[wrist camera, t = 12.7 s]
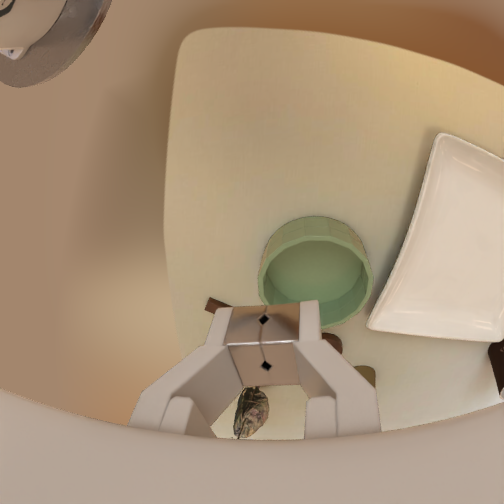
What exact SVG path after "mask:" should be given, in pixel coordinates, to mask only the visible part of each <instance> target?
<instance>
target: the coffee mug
mask: <svg viewBox="0 0 504 504" xmlns="http://www.w3.org/2000/svg"><path fill="white" fill-rule="evenodd" d="M488 355H489V358H490V361H491V365H492V368H493V372H494V375H495V379H496V383H497V387H498V391H499V395H500V398H501V399H504V339H503V340H502V341H500V342H492V344H491V345H490V347H489V349H488Z"/></svg>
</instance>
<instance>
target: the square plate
mask: <svg viewBox="0 0 504 504" xmlns="http://www.w3.org/2000/svg"><path fill="white" fill-rule="evenodd" d="M366 327H367V328H368V329H371V330H376V331H383V332H391V333H399V334H407V335H416V336H425V337H435V338H445V339H456V340H467V341H481V342H500V341H502V340H503V339H504V160H503V159H501V158H499V157H498V156H496V155H494V154H492V153H490V152H488V151H486V150H484V149H482V148H480V147H478V146H476V145H474V144H472V143H470V142H467V141H465V140H463V139H461V138H458V137H456V136H453V135H450V134H447V133H438V134H437V135H436V137H435V139H434V142H433V145H432V148H431V152H430V156H429V159H428V163H427V167H426V171H425V175H424V179H423V182H422V186H421V190H420V194H419V197H418V201H417V204H416V207H415V211H414V214H413V217H412V220H411V223H410V226H409V229H408V232H407V235H406V237H405V240H404V243H403V245H402V248H401V250H400V253H399V255H398V258H397V260H396V262H395V265H394V267H393V269H392V271H391V274H390V276H389V278H388V280H387V282H386V284H385V286H384V288H383V290H382V292H381V294H380V296H379V298H378V300H377V302H376V304H375V306H374V308H373V310H372V312H371V314H370V316H369V318H368V320H367V323H366Z"/></svg>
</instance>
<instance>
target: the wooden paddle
mask: <svg viewBox="0 0 504 504" xmlns="http://www.w3.org/2000/svg"><path fill="white" fill-rule="evenodd" d="M226 307H232V306H229V305H227V304H224V303H222V302H220V301H217V300H215V299H212V298H209V300H208V302H207V305H206V307H205V310H206V311H208V312H211V313H213V314H215V312H216V310H217V309H218V308H226ZM323 339H325V340H326V341H327V342H328V343H329V344H330V345H331V346H332V347H334V348H335V349H336V350H337V351H338V352H339V353H340V354H342V342H341V340H340V339H339V338H338V337H337V336H335V335H333V334H329V333H322V340H323Z"/></svg>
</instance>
